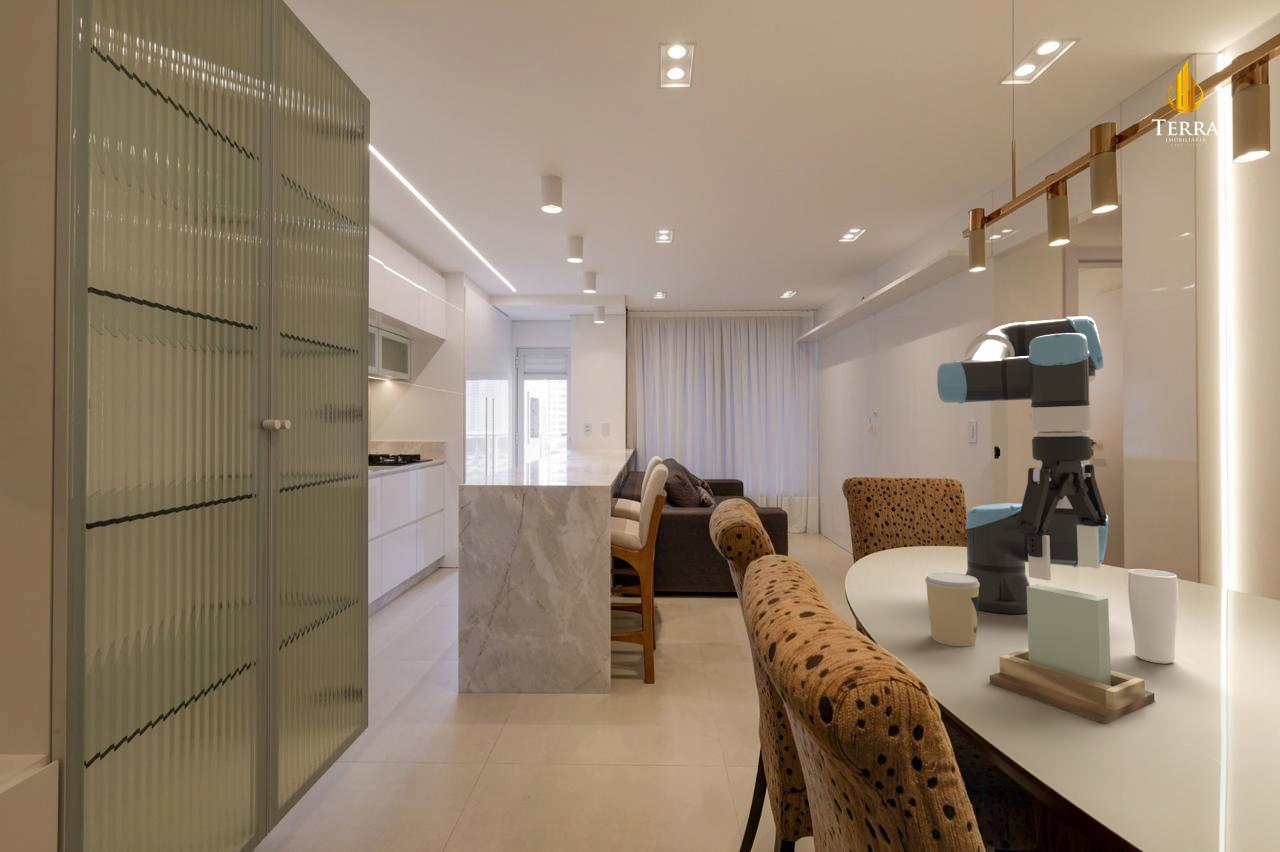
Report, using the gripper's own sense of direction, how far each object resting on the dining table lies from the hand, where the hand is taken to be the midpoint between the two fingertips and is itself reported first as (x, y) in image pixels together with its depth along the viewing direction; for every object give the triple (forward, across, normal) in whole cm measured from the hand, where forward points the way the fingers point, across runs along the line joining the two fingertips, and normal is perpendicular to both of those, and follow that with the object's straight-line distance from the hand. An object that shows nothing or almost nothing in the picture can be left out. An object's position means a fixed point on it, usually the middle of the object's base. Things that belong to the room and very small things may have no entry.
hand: (1065, 572), depth 94 cm
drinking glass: (+19, -26, 0) cm, 32 cm away
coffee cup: (+19, -6, -24) cm, 31 cm away
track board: (+18, 0, 0) cm, 18 cm away
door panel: (+17, 0, 0) cm, 17 cm away
